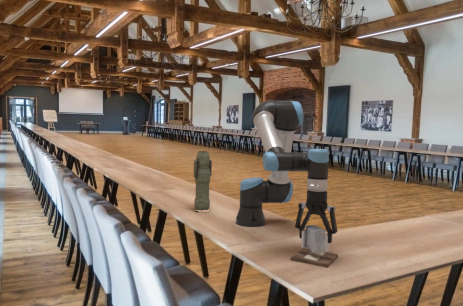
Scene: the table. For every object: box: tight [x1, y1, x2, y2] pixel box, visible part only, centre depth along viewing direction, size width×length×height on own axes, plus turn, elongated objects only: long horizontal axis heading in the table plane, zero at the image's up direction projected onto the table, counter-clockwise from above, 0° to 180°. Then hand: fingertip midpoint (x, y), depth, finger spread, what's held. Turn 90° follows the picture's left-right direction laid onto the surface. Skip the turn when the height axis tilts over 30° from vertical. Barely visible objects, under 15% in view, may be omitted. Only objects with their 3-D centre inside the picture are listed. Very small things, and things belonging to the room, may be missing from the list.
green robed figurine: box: [193, 150, 213, 211], centre depth 231 cm, size 9×12×35 cm
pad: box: [290, 247, 339, 268], centre depth 150 cm, size 14×14×1 cm
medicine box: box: [304, 224, 327, 253], centre depth 150 cm, size 8×4×9 cm, turn 16°
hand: (315, 249), depth 150 cm, fingers closed on medicine box, 8 cm apart
